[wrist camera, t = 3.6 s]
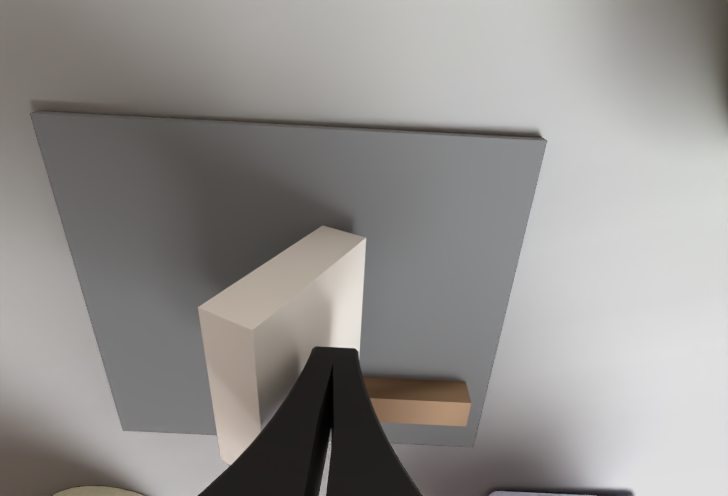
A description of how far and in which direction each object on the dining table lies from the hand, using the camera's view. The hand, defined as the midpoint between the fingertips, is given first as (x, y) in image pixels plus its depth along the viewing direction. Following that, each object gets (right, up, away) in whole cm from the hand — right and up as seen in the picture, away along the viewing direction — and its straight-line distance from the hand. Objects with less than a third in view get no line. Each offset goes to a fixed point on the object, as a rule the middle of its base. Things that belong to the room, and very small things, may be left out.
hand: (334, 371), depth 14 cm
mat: (-2, +1, +5) cm, 5 cm away
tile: (0, +2, +3) cm, 4 cm away
